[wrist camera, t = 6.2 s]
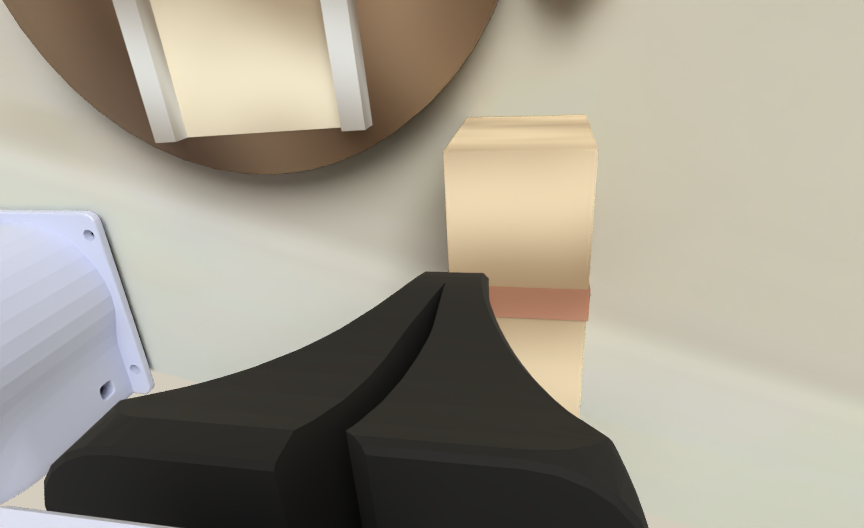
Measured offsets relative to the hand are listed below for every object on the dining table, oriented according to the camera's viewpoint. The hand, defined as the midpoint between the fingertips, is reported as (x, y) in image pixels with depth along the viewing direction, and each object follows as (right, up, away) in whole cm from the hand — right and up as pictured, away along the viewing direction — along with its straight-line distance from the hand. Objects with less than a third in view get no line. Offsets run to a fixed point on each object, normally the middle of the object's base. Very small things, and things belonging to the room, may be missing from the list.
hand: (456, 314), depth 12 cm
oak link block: (+3, +2, +9) cm, 10 cm away
